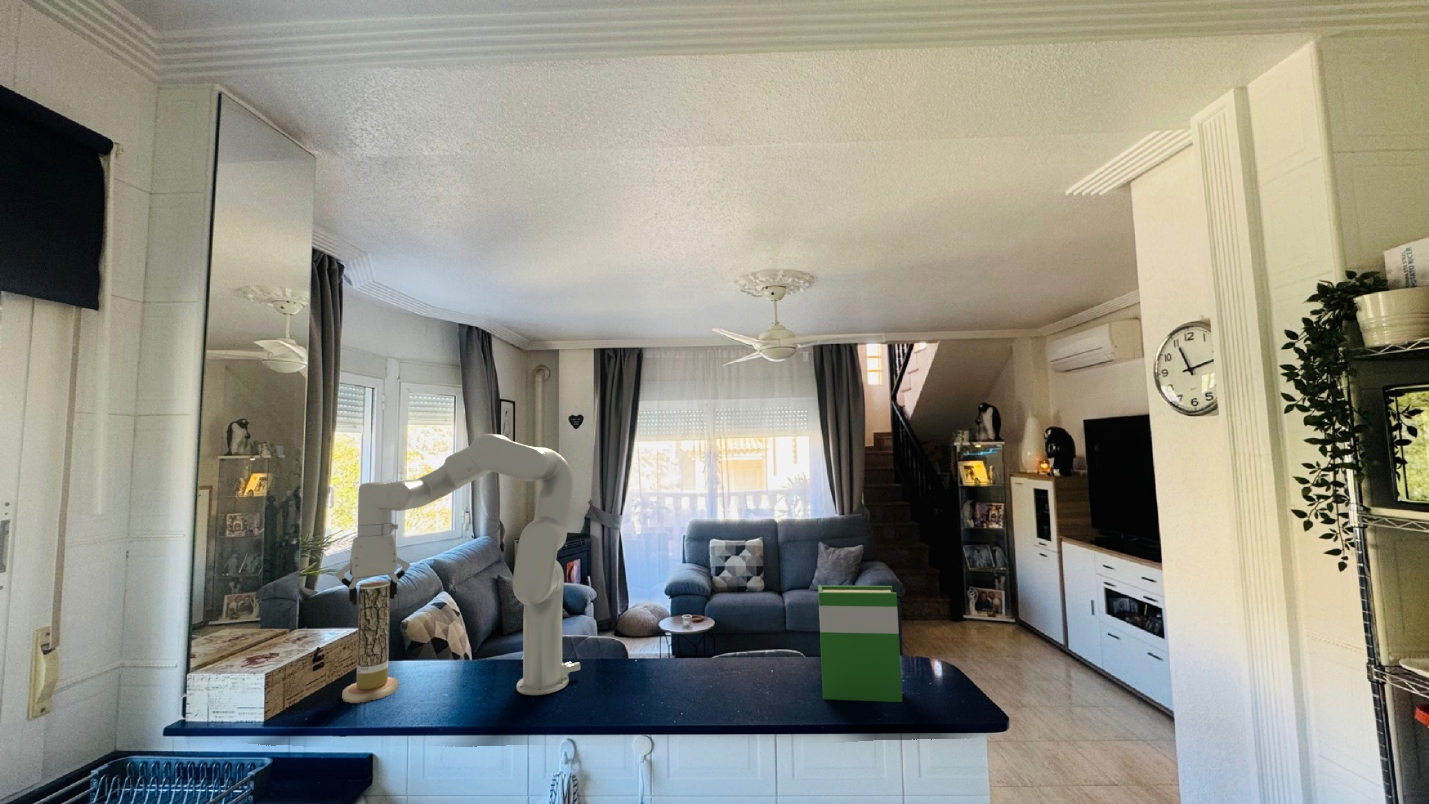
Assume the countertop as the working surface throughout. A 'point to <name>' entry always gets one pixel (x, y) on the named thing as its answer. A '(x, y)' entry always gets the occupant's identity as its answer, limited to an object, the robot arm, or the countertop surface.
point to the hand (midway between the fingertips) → (373, 600)
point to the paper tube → (373, 635)
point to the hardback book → (860, 643)
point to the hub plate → (369, 692)
